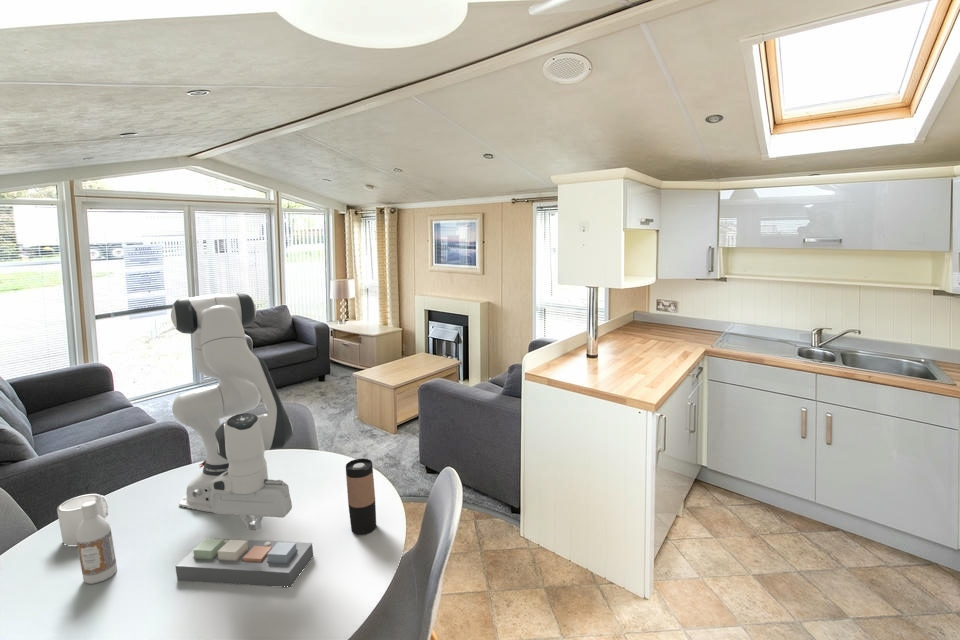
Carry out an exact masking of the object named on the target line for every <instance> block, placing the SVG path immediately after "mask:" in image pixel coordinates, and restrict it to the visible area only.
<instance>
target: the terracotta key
mask: <svg viewBox="0 0 960 640" xmlns="http://www.w3.org/2000/svg"><path fill="white" fill-rule="evenodd" d="M271 549H272V547H267V546H254V547H253V548H252V549H251V550H250V551H249V552H248V553H247V554H246V555H245V556H244V557H243V561H246V562H263V561H264V559H265V558H266V557H267V554H268V553H269V551H270V550H271Z"/></svg>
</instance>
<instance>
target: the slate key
mask: <svg viewBox="0 0 960 640" xmlns="http://www.w3.org/2000/svg"><path fill="white" fill-rule="evenodd" d="M288 542H289V541H281V542H277V544H276V545H275V546H274V547H273V548H272V549H271V550H270V551H269V553H268V554H267V556H268V563H282V564H288V562H289V561H290V560H291V559H292V557H293V556H294V555H295V554H296V552H297V548H296V543H288Z"/></svg>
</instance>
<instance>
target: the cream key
mask: <svg viewBox="0 0 960 640" xmlns="http://www.w3.org/2000/svg"><path fill="white" fill-rule="evenodd" d="M247 540H248V539H241V540H229V541H228V542H227V543H226V544H225V545H224V546H223V547H221V548H220V549H219V550H218V559H219V560H229V561H237V560H238V559H239V558H240V557H241V556H242V555H243V554H244V553H245V552H246V551H247V550H248V541H247Z"/></svg>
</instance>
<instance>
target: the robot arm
mask: <svg viewBox="0 0 960 640" xmlns="http://www.w3.org/2000/svg"><path fill="white" fill-rule="evenodd" d="M256 315H257V308H256V304H255V302H254V300H253V298H252V296H250V295H249V294H247V293H240V292H238V293H234V294H233V293H213V294H207V295H198V296H193V297H188V296H186V297H181V298H178V299H176V300H175V302H173V306H172V307H171V311H170V319H171V321H172V324H173V326H174V327H175V329H176V331H178V332H180V333H181V334H185V335H187V334H188V335H193V349H194V350H193V351H194V361H195V368H196V370H197V372H198V373H199V374H201V375H202V376H204V377H208V378H212V379H217V380H218V381H217V383H215V384H213V385H208V386H203V387H198V388H194V389H193V388H192V389H191V390H187V391H185V392H183V393H181V394H178V395H177V396H176V397H175V399H174V401H173V402H172V405H171V406H172V415H173V416H174V418H175V419H176V421H177V422H179V423H180V424H181V425H183V426H186V427H189V428H191V429H192V430H193V431H195V432H196V434H198V436H199V437H200V438H201V441H202V444H203V447H204V452H205V459H204V460H203V462H202V463H200V464H199V469H201V468H202V467H203V468H202V471H201V472H200V473H199V474H198V475H196V477H194V478H193V479H192V480H191V481H190V482H189V483H188V485H187V487H186V494H185V495H184V496H183V497H182V498H181V499H180V501H179V503H178V507H180V506H182V507H181V508H184V507H187V508H186V509H190V508H192V509H191V510H195V509H196V510H195V511H203V512H207V513H214V514H216V515H217V514H218V515H233V516H235V515H236V516H237V515H238V516H240V518H241V520H242V522H243V523H244V524H245V525H246V530H247V531H260V530H261V528H262V520H263V519H264V517H266V518H285V517H287V515H288V514H289V513H290V512H291V511H292V508H293V504H292V499H291V494H290V488H289V487H290V486H289V485H288V484H287V483H286V482H284V481H283V480H282V479H277V480H276V479H269V474H268V465H267V461H266V458H265V451H267V450H270V451H271V450H276V449H283V448H284V447H285V446H286V445H287V444H288V443H289V442H290V440H291V439H292V438H293V436H294V435H293V433H294V432H293V431H294V430H293V424H292V422H291V420H290V417H289V416H288V414H287V412H286V409H285V408H284V405H283V403H282V400H281V398H280V396H279V393H278V391H277V388H276V386H275V383H274V381H273V378H272V375H271V373H270V371H269V369H268V366H267V365H266V363H265V361H264V359H263V358H262V357H260V356H257V355H255V354H254V353H253V351H251V349H250V347H249V345H248V341H247V337H246V333H245V329H244V328H247V327H250V326H251V325H252V324H253V323H254V322H255V319H256ZM261 400H262V403H263V405H264V408H265V410H266V412H265V413H261V414H258V415H257V414H254V413H248V412H249V411H250V410H254V409H255V408H257V407H258V405H259V404H260V402H261ZM228 417H229V418H228ZM224 418H228V419H227V420H226V421H225V422H222V423H221V422H220V420H222V419H224ZM252 517H254V519H255V520H253V518H252Z"/></svg>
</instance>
